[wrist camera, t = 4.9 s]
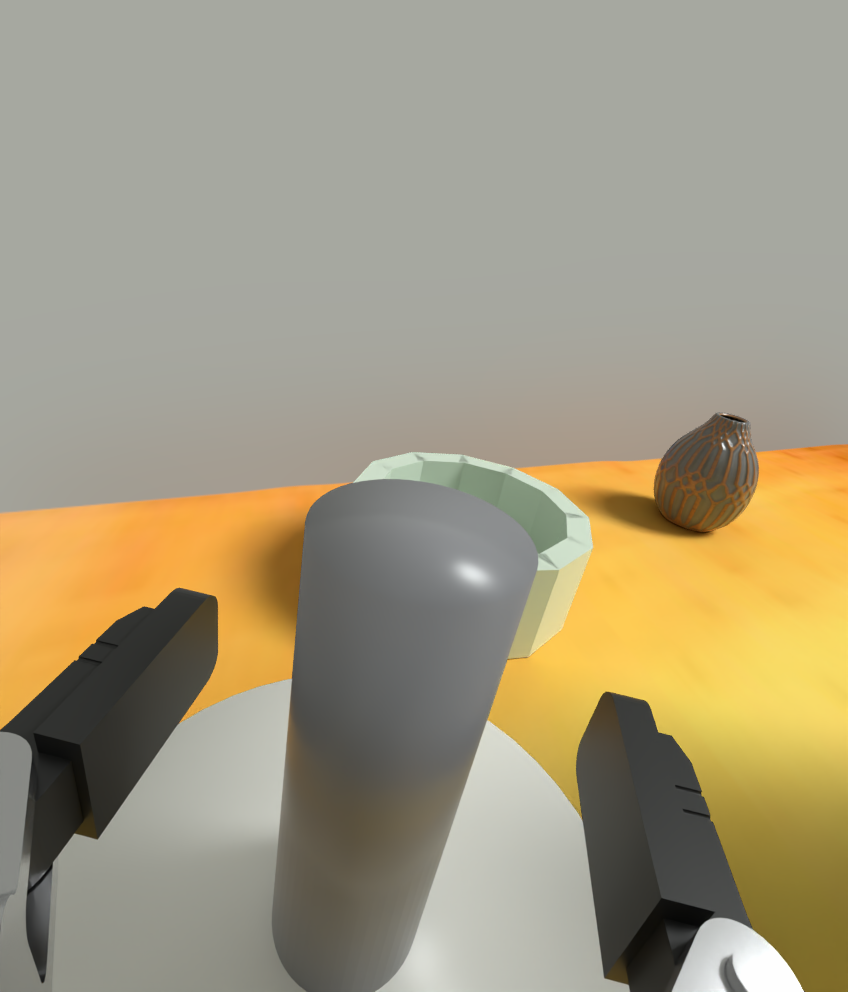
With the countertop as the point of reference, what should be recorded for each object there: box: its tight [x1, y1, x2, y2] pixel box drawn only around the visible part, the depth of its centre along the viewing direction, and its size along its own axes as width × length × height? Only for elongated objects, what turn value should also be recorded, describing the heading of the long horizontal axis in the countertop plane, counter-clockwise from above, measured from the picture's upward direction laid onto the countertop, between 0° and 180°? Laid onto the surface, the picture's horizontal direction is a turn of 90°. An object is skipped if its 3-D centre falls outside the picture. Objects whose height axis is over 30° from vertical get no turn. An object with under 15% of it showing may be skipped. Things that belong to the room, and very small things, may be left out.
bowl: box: [353, 452, 593, 659], centre depth 27 cm, size 12×12×5 cm
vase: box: [654, 413, 759, 532], centre depth 40 cm, size 7×7×9 cm
